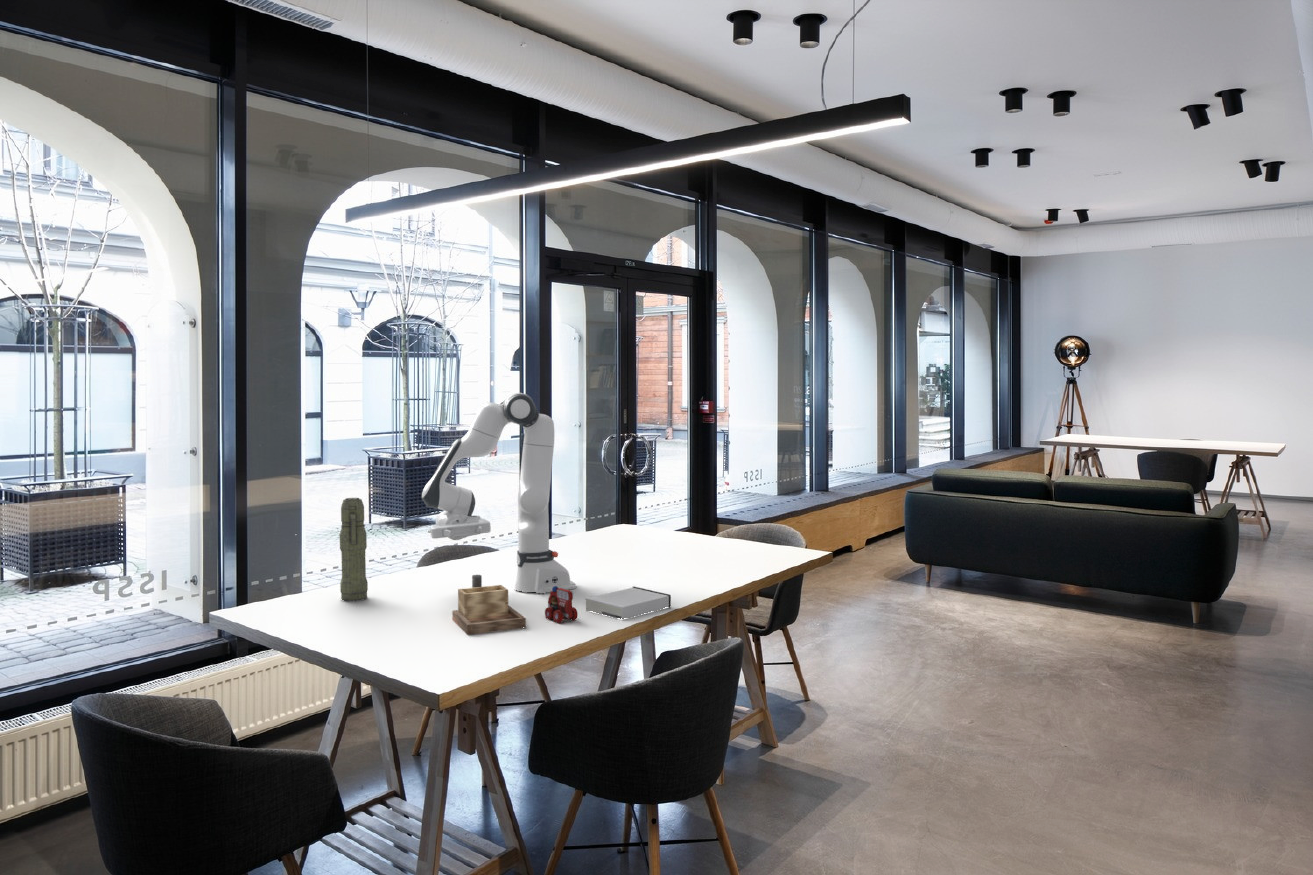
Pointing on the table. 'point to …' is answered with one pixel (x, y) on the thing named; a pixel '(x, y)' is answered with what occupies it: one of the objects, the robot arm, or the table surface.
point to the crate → (482, 600)
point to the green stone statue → (353, 551)
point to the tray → (490, 622)
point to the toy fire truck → (560, 605)
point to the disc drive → (628, 602)
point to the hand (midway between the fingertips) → (465, 532)
